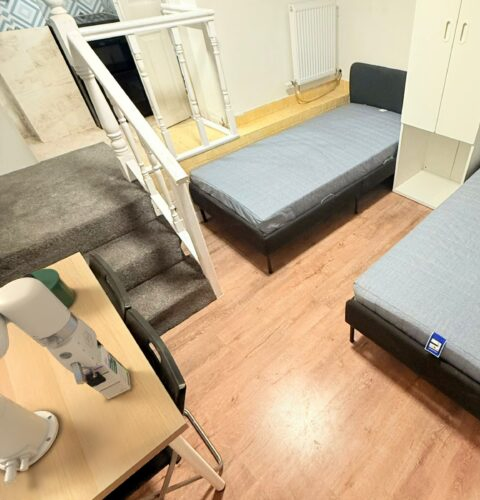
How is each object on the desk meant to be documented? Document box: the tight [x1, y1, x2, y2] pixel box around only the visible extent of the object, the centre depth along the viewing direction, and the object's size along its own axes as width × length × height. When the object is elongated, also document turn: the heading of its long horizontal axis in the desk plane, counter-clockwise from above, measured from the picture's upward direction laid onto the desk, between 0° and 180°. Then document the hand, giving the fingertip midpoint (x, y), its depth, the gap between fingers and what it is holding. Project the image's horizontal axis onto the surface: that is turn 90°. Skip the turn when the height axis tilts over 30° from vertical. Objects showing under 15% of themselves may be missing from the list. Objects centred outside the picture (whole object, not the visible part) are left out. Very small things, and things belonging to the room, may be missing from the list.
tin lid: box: [22, 268, 61, 291], centre depth 100 cm, size 13×13×5 cm
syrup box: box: [81, 344, 131, 400], centre depth 83 cm, size 6×6×14 cm
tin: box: [51, 277, 76, 309], centre depth 104 cm, size 12×12×10 cm
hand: (98, 366), depth 80 cm, fingers open, 9 cm apart
